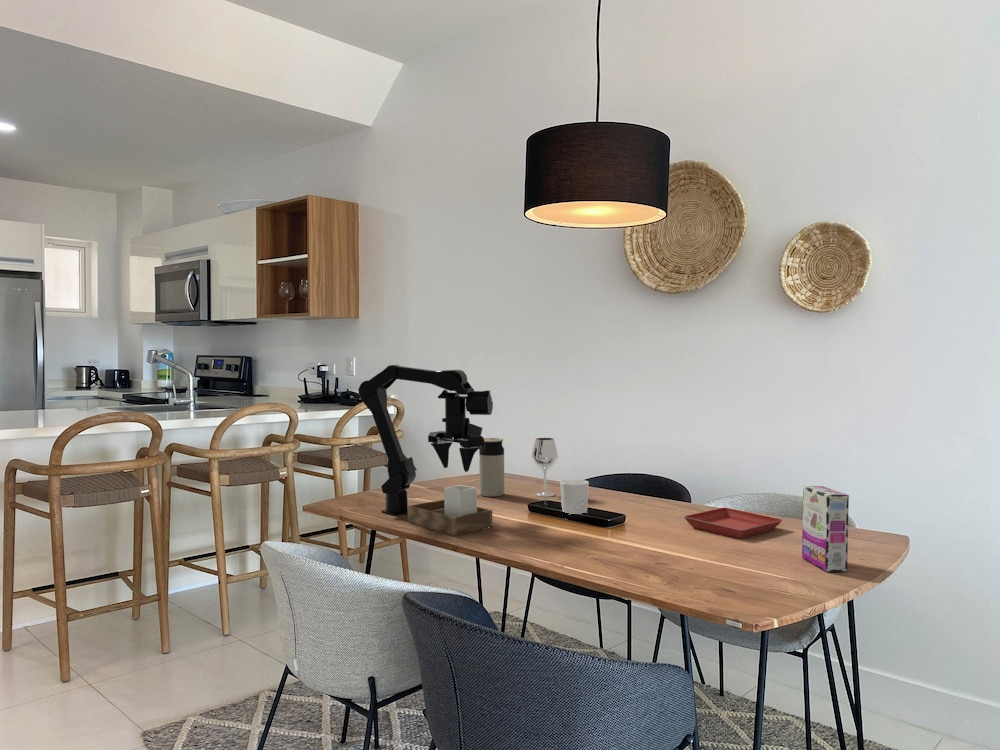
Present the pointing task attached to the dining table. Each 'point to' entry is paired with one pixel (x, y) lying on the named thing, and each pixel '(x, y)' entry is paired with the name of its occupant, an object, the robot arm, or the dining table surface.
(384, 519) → the dining table surface
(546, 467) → the wineglass
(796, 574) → the dining table surface
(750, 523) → the plant saucer
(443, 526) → the crate
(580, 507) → the white cup
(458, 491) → the box
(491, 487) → the travel mug
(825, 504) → the candy bar box
